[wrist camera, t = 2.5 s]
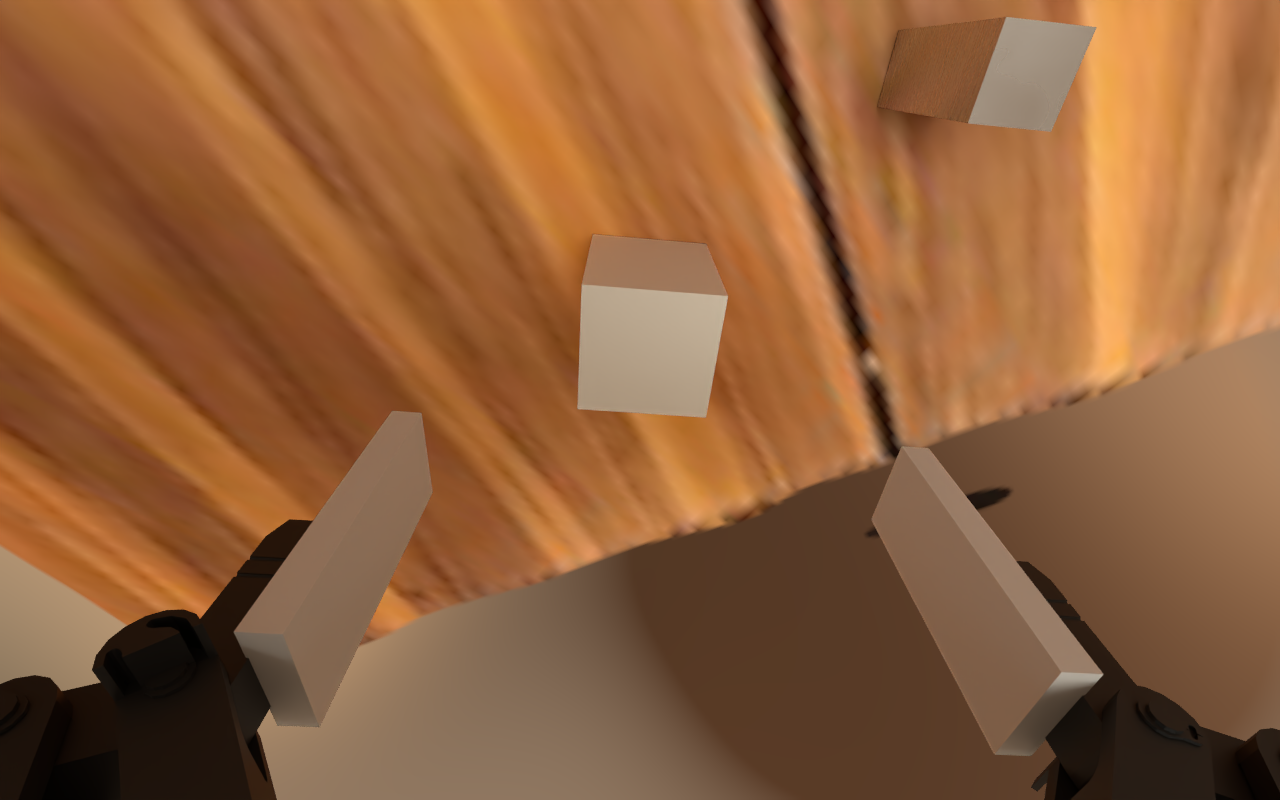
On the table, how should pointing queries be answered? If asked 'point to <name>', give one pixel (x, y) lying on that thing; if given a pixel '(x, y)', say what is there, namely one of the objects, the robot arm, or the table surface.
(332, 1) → the table surface
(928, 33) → the post
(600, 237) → the cream sugar cube
